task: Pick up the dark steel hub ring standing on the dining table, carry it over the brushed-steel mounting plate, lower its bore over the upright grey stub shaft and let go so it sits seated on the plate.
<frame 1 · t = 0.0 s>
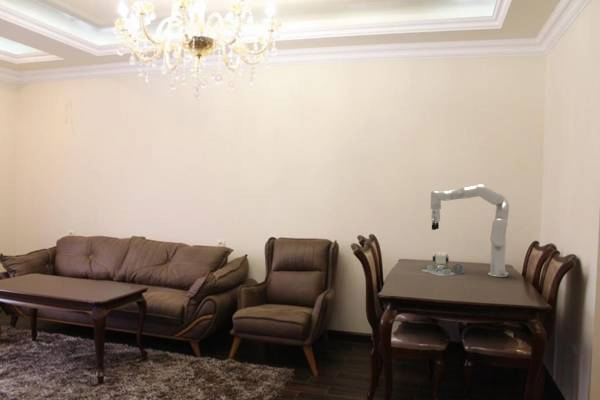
hand: (435, 229, 355), 31 cm above the table, tool pointing down, fingers open, 9 cm apart
seat: (438, 272, 342), on the table
hub: (458, 272, 344), on the table
pneumatic valve: (440, 269, 360), on the table
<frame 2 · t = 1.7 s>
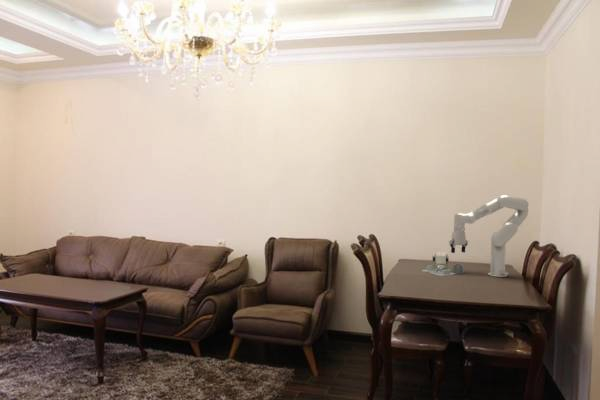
hand: (458, 252, 344), 15 cm above the table, tool pointing down, fingers open, 9 cm apart
nothing on the table moved.
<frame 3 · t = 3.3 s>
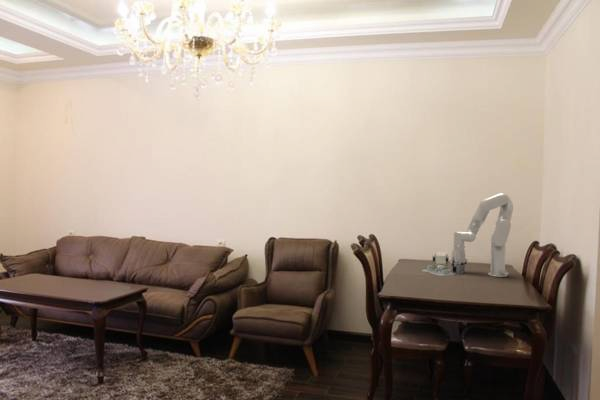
hand: (458, 271, 344), 1 cm above the table, tool pointing down, fingers closed on hub, 7 cm apart
hub: (458, 272, 344), on the table, touching gripper
everything else where it was.
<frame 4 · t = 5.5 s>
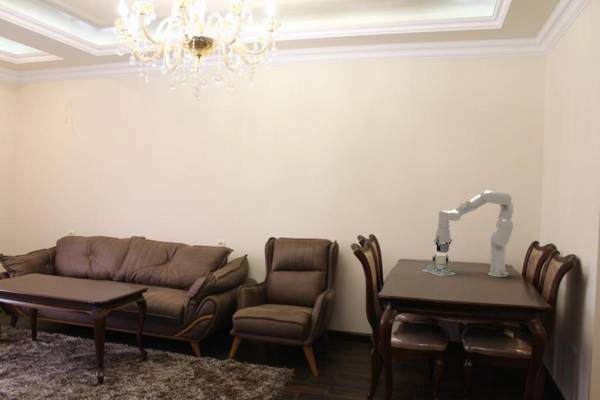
hand: (442, 250, 342), 17 cm above the table, tool pointing down, fingers closed on hub, 7 cm apart
hub: (442, 252, 342), point 16 cm above the table, touching gripper
everything else where it was.
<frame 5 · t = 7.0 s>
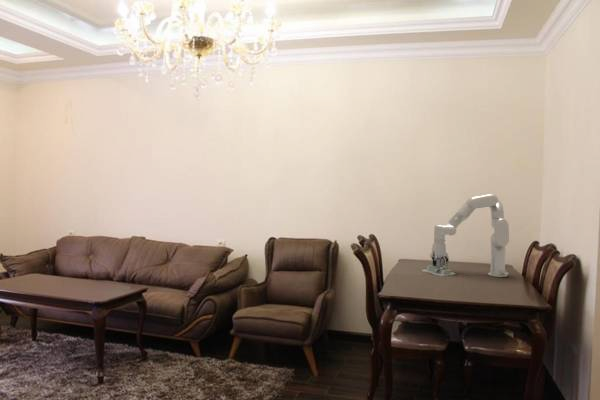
hand: (438, 265, 342), 6 cm above the table, tool pointing down, fingers closed on hub, 7 cm apart
hub: (438, 266, 342), point 5 cm above the table, touching gripper
everything else where it was.
when the fingers open (3 cm above the table, at t = 8.0 s): hub stays where it is, resting on seat.
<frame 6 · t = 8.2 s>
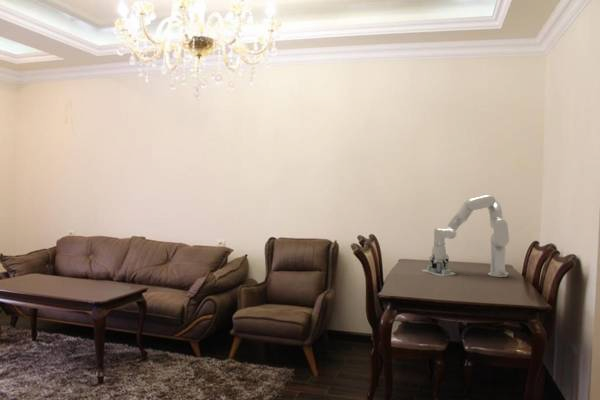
hand: (438, 268, 342), 4 cm above the table, tool pointing down, fingers open, 8 cm apart
hub: (438, 270, 342), point 2 cm above the table, touching seat
everything else where it was.
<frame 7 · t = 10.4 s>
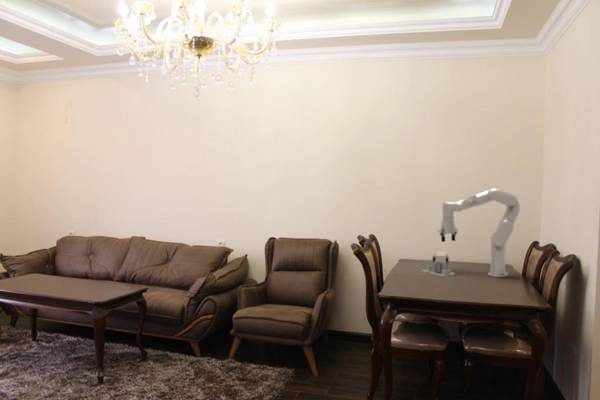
hand: (448, 241, 346), 23 cm above the table, tool pointing down, fingers open, 9 cm apart
nothing on the table moved.
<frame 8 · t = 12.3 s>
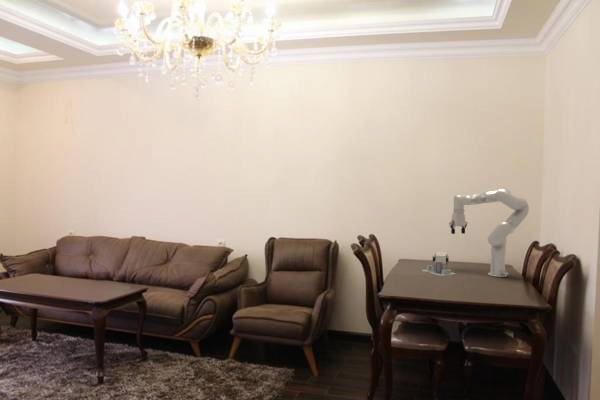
hand: (458, 233, 353), 28 cm above the table, tool pointing down, fingers open, 9 cm apart
nothing on the table moved.
at the end: hub 0.3 cm off-centre on the seat, point 1.6 cm above the seat's base; hub tilted 0°; the gripper is holding nothing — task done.
